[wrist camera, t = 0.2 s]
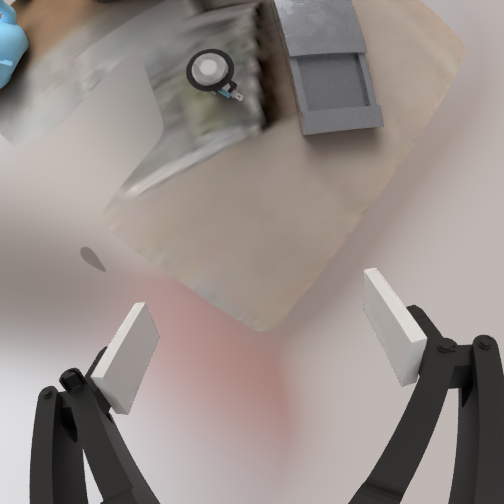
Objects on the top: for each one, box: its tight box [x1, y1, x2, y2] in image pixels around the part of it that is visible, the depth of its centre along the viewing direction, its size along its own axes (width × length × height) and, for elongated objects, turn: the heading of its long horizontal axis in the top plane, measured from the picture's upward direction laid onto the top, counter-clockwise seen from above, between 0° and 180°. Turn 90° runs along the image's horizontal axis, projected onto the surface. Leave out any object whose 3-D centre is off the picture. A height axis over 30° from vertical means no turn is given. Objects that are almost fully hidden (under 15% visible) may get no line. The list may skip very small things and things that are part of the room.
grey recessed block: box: [271, 0, 384, 136], centre depth 33 cm, size 22×11×4 cm, turn 11°
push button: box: [186, 49, 244, 101], centre depth 31 cm, size 7×5×10 cm
